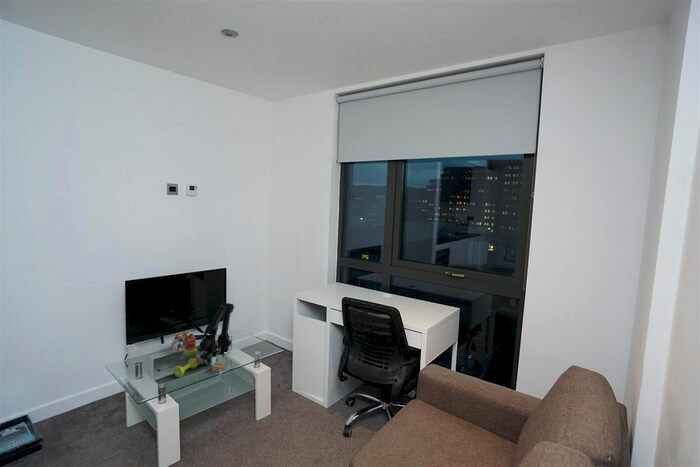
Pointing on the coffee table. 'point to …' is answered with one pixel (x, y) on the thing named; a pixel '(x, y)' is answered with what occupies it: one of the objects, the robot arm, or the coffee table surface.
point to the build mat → (214, 372)
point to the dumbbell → (185, 367)
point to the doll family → (177, 342)
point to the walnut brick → (217, 367)
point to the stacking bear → (190, 350)
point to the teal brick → (212, 361)
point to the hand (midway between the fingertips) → (210, 362)
